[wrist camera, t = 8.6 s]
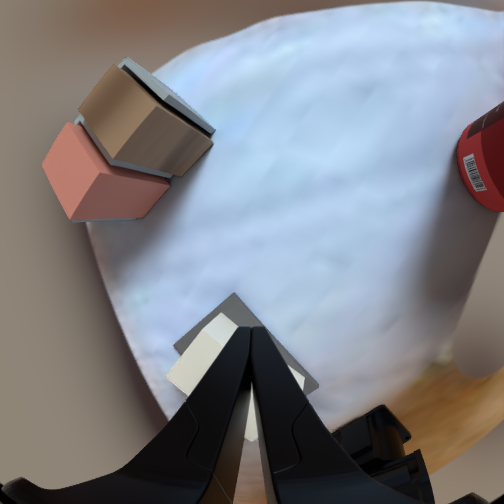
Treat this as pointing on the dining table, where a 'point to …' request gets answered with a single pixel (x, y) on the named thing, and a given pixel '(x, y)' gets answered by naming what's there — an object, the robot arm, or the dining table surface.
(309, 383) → the rubber mat
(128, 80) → the walnut plug
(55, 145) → the salmon pink block
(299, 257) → the dining table surface
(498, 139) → the canned food
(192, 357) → the cream rectangular block
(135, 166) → the socket block
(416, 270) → the dining table surface
